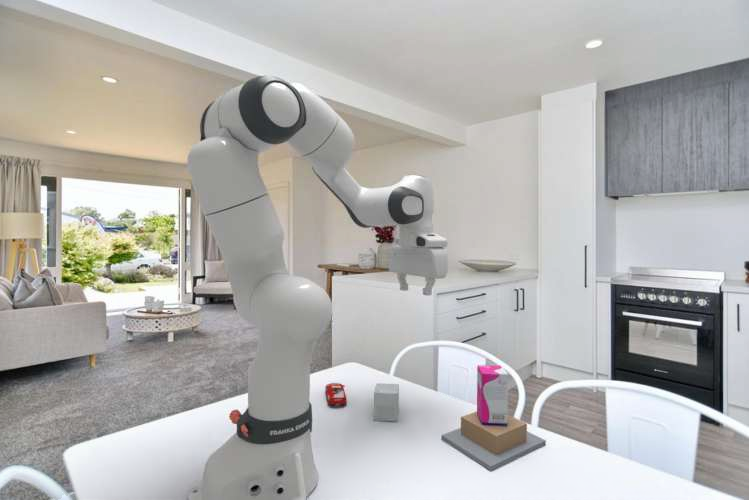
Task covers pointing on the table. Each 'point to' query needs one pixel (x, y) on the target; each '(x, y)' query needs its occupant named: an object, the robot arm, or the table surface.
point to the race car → (336, 395)
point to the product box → (386, 402)
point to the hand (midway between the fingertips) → (415, 292)
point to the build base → (486, 454)
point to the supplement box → (492, 395)
